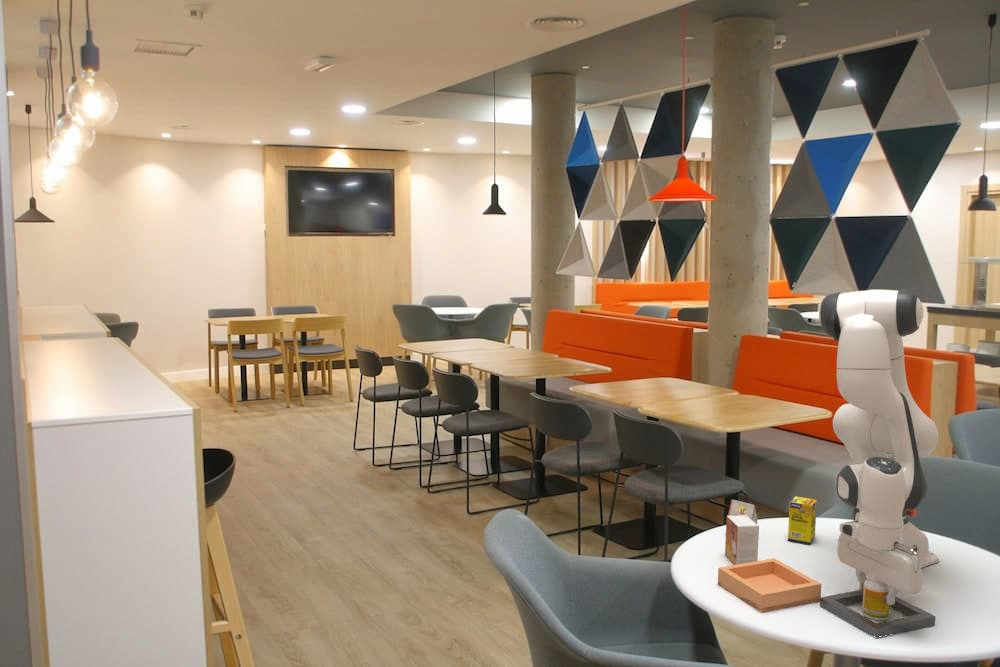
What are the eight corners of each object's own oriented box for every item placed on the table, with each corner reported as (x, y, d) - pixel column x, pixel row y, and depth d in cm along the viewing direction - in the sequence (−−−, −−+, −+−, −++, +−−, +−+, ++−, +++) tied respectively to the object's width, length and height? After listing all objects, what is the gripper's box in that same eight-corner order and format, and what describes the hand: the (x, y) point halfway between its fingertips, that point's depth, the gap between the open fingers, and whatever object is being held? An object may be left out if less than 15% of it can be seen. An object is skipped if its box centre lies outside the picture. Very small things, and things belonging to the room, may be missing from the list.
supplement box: (810, 545, 222) (812, 505, 221) (787, 541, 225) (789, 501, 224) (815, 538, 227) (817, 499, 226) (792, 534, 230) (794, 495, 229)
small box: (724, 555, 216) (725, 515, 214) (745, 554, 216) (747, 514, 215) (735, 567, 208) (737, 526, 206) (757, 566, 208) (759, 525, 207)
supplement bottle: (892, 622, 178) (894, 578, 177) (865, 620, 179) (867, 576, 178) (886, 611, 183) (888, 568, 182) (859, 609, 185) (862, 566, 183)
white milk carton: (734, 533, 231) (735, 498, 230) (756, 539, 226) (758, 503, 225) (727, 536, 229) (728, 501, 227) (749, 543, 224) (751, 506, 223)
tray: (773, 574, 203) (774, 558, 203) (820, 601, 189) (821, 583, 188) (717, 584, 198) (718, 567, 197) (761, 612, 183) (762, 594, 182)
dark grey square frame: (876, 595, 192) (876, 586, 191) (934, 625, 177) (935, 616, 177) (819, 606, 186) (820, 597, 186) (875, 638, 171) (876, 629, 171)
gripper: (931, 550, 171) (927, 615, 172) (856, 518, 190) (853, 577, 191) (907, 554, 168) (904, 620, 170) (833, 521, 187) (831, 581, 189)
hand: (876, 597), depth 181 cm, fingers closed on supplement bottle, 5 cm apart
